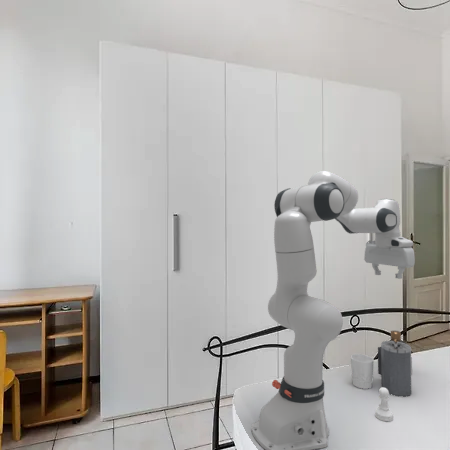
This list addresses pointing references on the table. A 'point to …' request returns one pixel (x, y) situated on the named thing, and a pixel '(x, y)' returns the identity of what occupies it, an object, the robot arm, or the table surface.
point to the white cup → (362, 370)
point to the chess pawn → (384, 406)
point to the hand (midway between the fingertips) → (387, 276)
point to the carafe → (395, 368)
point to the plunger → (395, 337)
